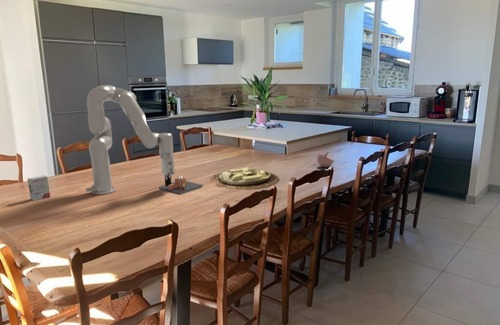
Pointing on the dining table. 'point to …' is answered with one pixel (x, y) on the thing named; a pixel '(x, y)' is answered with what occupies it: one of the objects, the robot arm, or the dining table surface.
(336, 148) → the dining table surface
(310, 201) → the dining table surface
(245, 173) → the plate
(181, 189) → the post plate
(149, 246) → the dining table surface
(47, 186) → the ink box
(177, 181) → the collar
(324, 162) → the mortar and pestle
